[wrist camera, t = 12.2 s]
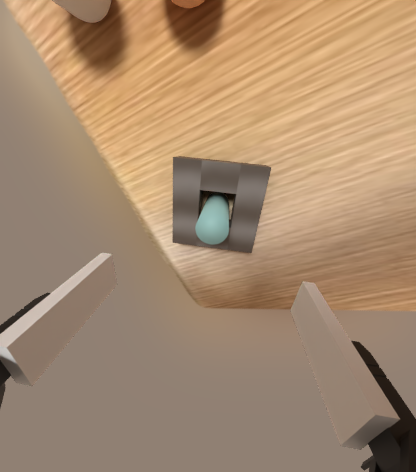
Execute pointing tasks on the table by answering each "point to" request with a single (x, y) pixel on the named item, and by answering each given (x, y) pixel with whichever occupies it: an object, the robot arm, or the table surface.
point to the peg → (214, 219)
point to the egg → (187, 3)
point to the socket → (218, 180)
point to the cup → (86, 9)
